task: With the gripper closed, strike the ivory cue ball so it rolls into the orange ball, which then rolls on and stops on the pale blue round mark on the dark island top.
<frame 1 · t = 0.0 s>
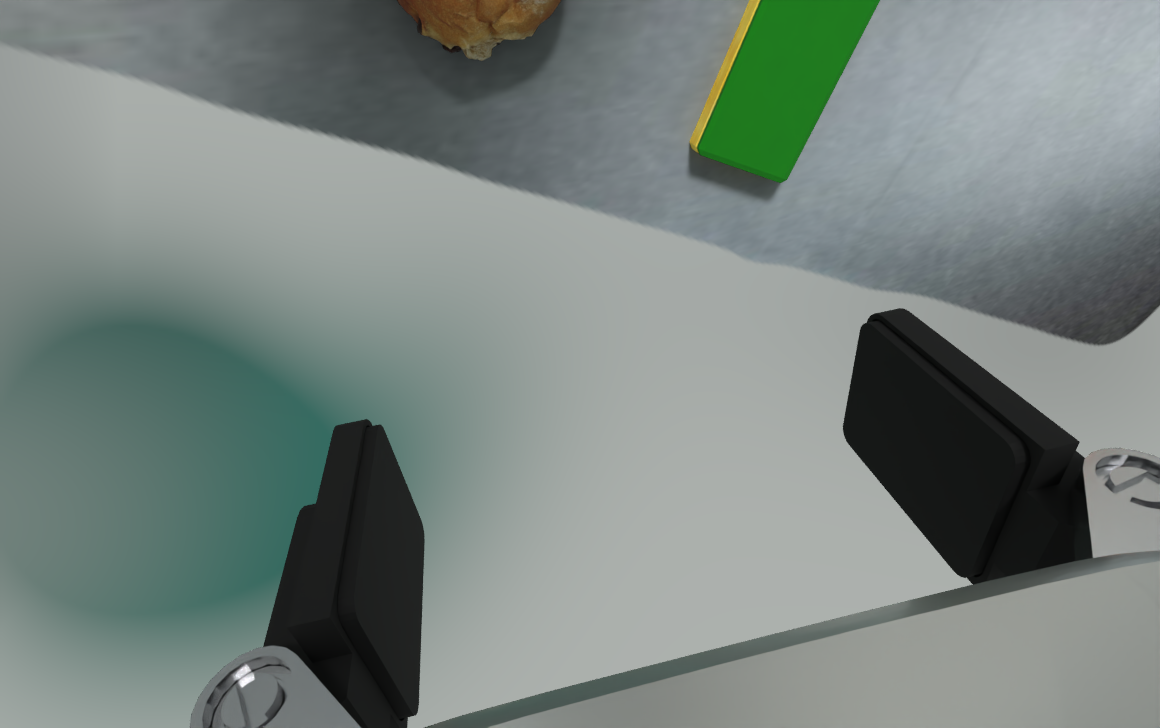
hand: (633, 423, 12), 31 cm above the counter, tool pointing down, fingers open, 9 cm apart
dish sponge: (775, 55, 39), on the counter
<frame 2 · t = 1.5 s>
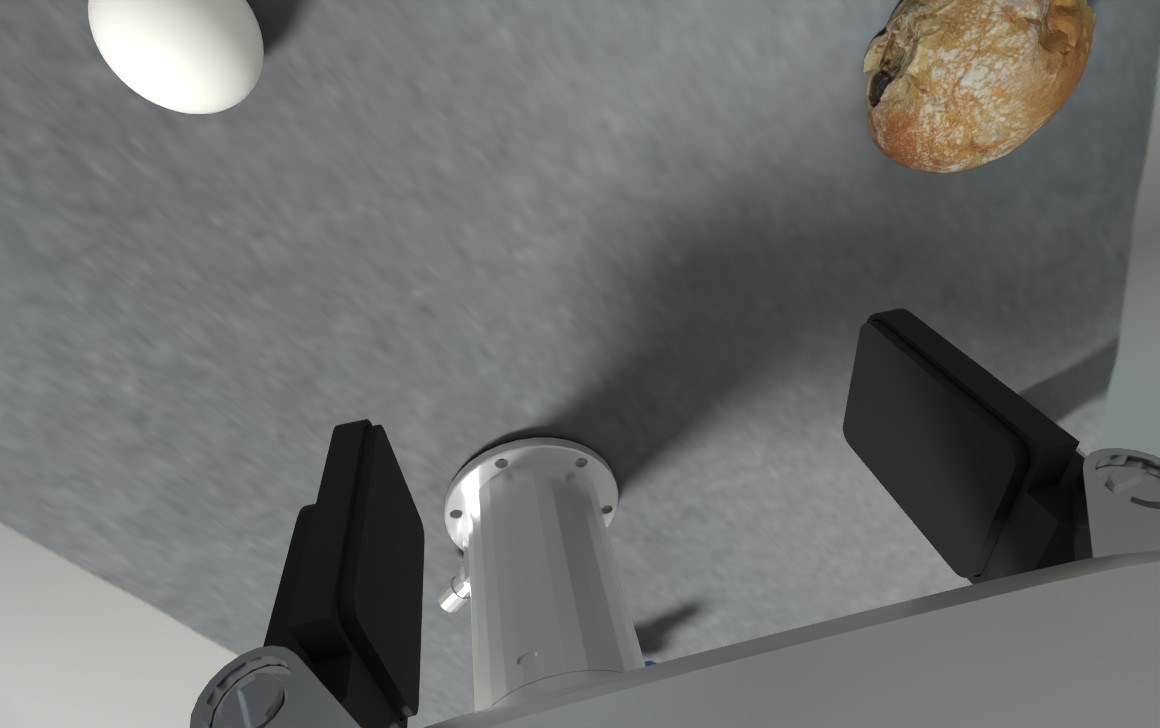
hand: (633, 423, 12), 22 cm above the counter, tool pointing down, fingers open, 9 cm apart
cue ball: (181, 35, 23), on the counter
bread roll: (947, 59, 32), on the counter
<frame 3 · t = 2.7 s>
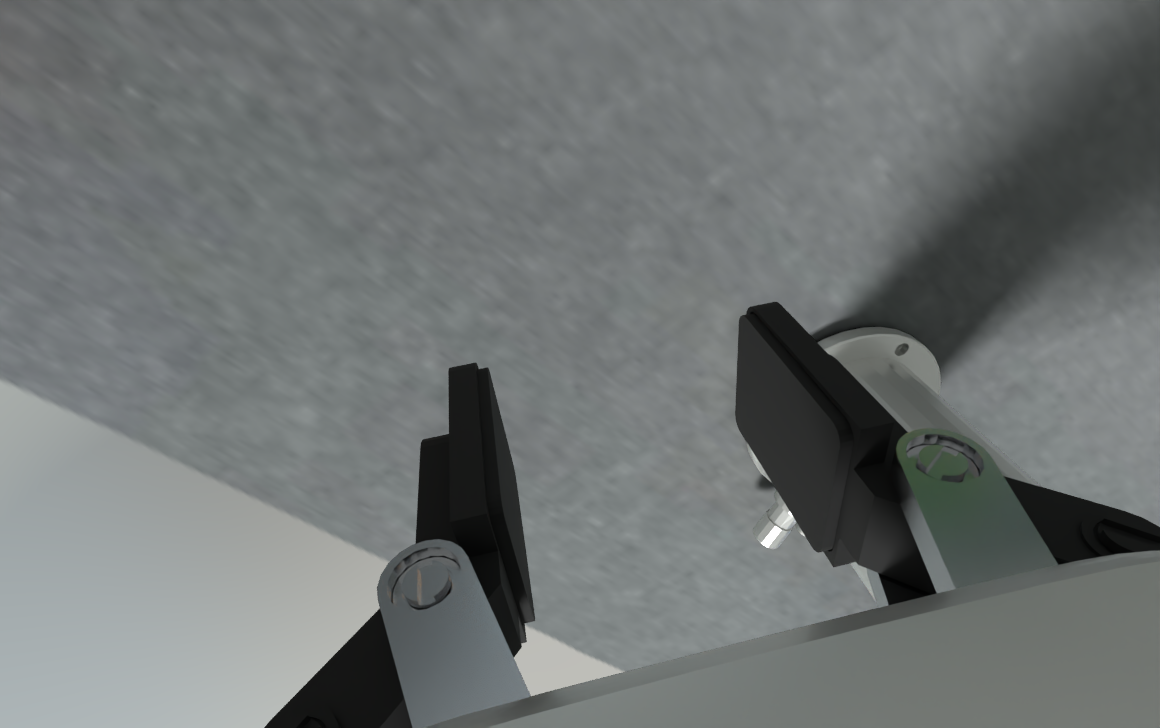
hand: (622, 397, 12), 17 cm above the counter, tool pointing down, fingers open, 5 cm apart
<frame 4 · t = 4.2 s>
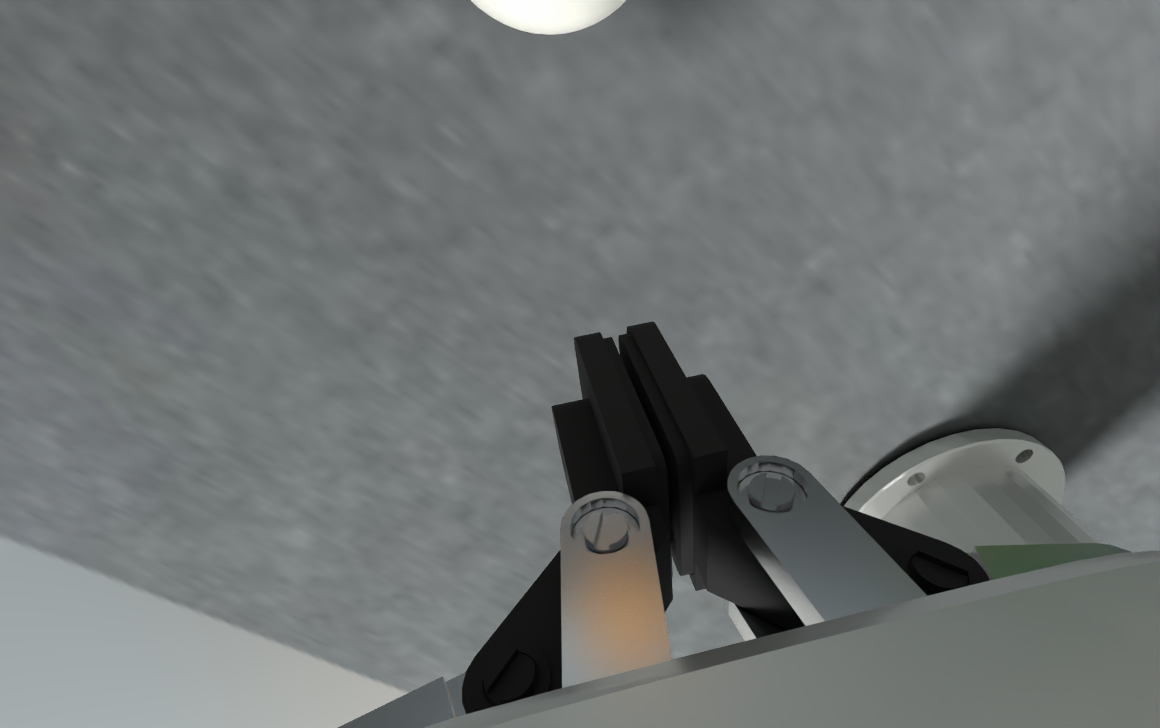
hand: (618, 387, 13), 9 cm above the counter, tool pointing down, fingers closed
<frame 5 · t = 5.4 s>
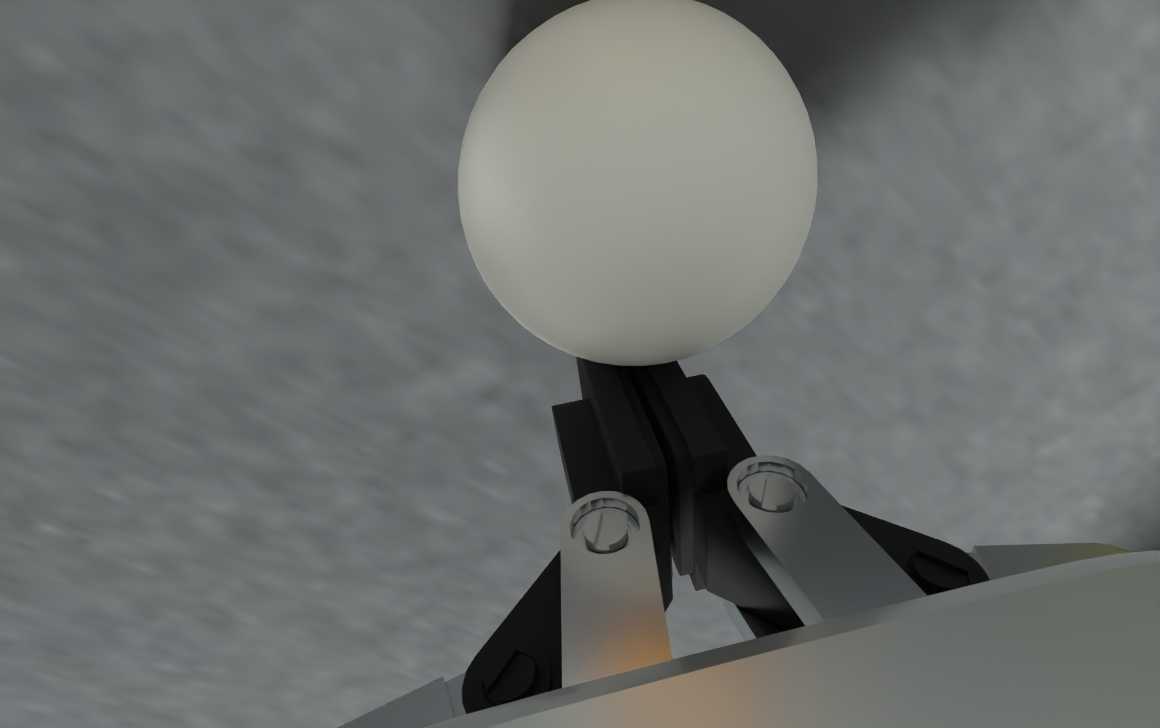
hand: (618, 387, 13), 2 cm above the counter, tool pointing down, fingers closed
cue ball: (633, 194, 10), on the counter
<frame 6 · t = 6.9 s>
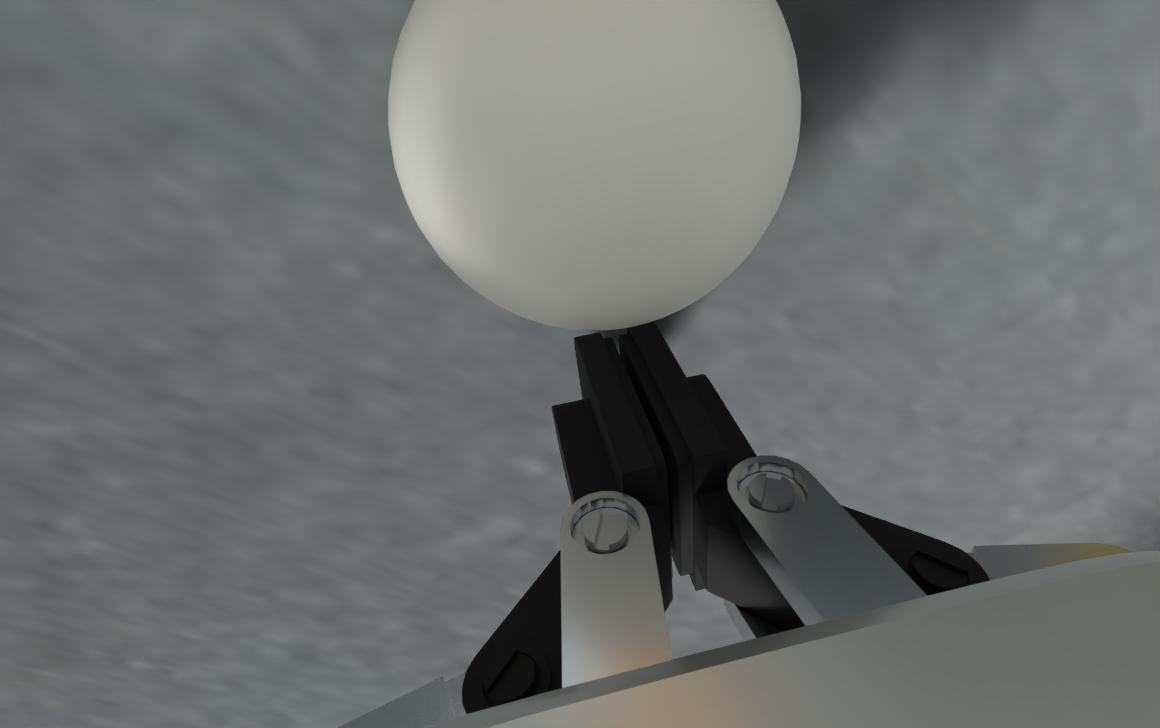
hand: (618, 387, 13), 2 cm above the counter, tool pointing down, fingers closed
cue ball: (593, 135, 8), on the counter
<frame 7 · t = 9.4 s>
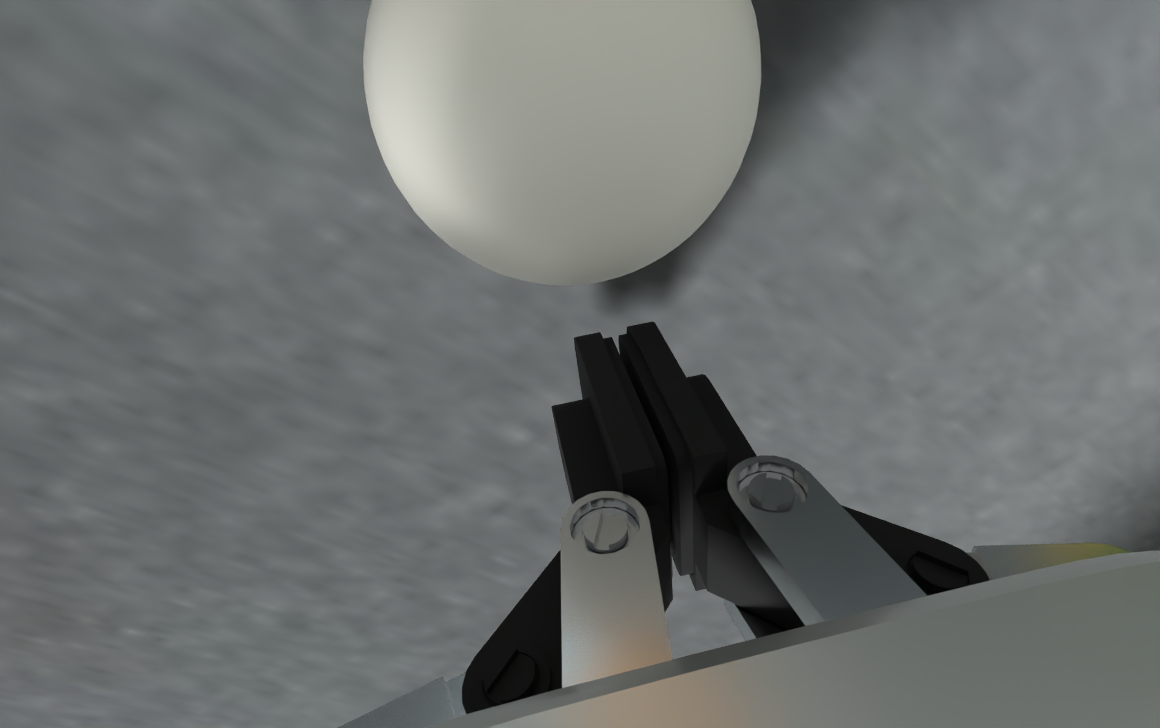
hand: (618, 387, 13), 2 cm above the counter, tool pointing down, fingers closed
cue ball: (564, 95, 9), on the counter
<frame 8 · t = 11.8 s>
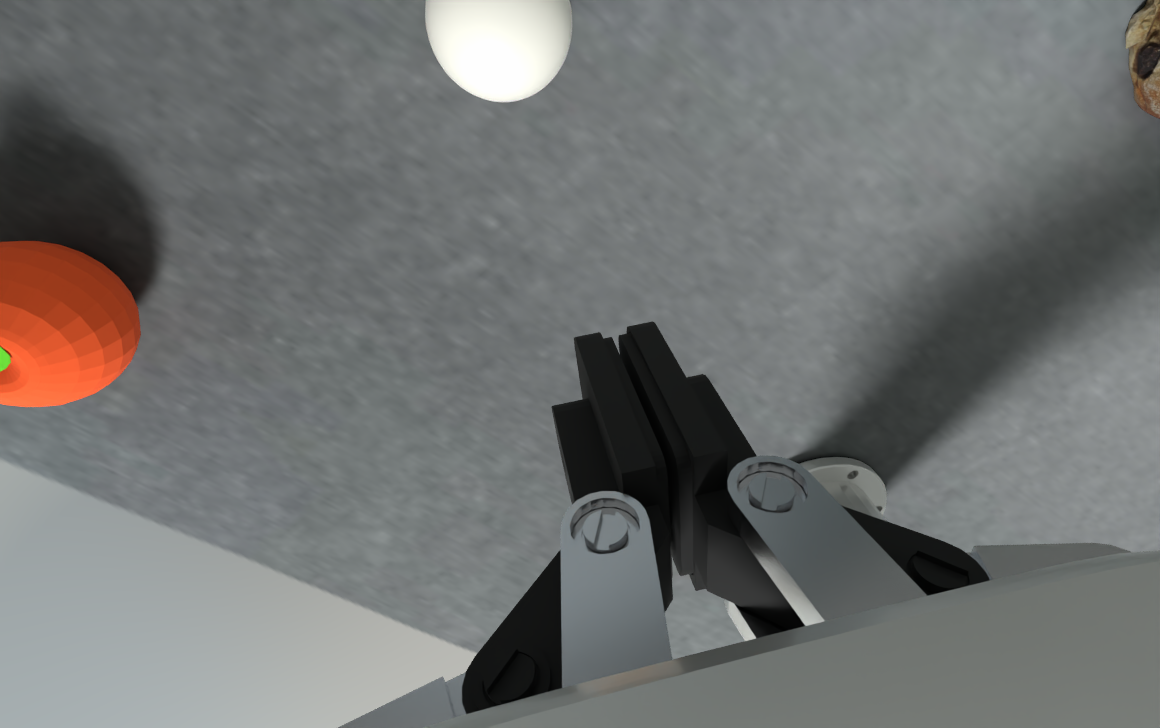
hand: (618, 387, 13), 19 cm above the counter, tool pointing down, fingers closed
cue ball: (499, 23, 23), on the counter
clementine: (75, 275, 28), on the counter
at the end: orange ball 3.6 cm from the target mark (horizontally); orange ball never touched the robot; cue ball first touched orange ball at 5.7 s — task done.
